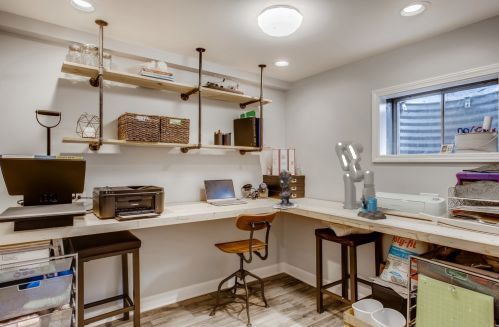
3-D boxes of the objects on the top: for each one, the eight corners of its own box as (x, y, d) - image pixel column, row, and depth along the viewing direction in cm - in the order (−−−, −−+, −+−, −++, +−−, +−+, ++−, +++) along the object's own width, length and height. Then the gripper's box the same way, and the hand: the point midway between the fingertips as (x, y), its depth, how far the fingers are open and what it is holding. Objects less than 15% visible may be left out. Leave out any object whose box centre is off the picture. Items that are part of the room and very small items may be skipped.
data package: (361, 211, 235) (361, 197, 235) (365, 211, 237) (365, 196, 236) (372, 214, 224) (372, 198, 224) (377, 213, 225) (377, 198, 225)
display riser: (357, 216, 218) (357, 211, 218) (370, 214, 222) (370, 210, 222) (372, 220, 203) (372, 215, 203) (386, 218, 207) (386, 213, 207)
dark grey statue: (267, 207, 259) (268, 168, 262) (277, 206, 282) (279, 170, 284) (290, 209, 249) (291, 169, 251) (299, 208, 271) (300, 170, 274)
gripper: (374, 185, 236) (374, 207, 236) (356, 186, 231) (356, 208, 231) (381, 186, 229) (381, 208, 229) (363, 187, 223) (363, 210, 224)
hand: (369, 208), depth 230 cm, fingers open, 7 cm apart
